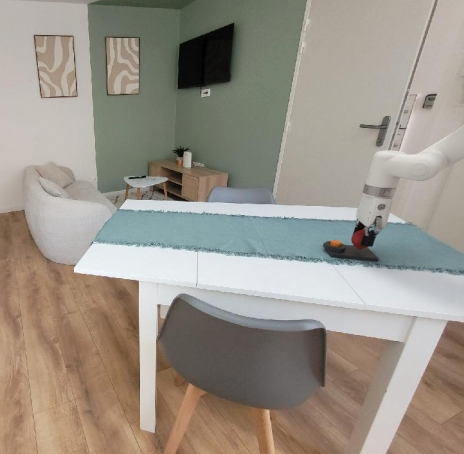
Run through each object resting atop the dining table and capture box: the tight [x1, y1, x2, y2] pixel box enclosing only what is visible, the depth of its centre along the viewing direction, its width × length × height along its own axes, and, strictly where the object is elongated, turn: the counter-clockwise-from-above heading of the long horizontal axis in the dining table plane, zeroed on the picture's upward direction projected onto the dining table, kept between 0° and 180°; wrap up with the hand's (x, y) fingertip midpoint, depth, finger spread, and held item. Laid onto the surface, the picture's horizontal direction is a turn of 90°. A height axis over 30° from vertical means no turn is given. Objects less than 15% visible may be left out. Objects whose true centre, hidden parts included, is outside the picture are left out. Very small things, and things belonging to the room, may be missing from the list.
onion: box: [350, 228, 367, 249], centre depth 99 cm, size 6×6×8 cm
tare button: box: [330, 239, 342, 247], centre depth 102 cm, size 3×3×2 cm
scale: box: [322, 240, 379, 263], centre depth 102 cm, size 14×9×3 cm, turn 70°
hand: (361, 241), depth 99 cm, fingers closed on onion, 5 cm apart
